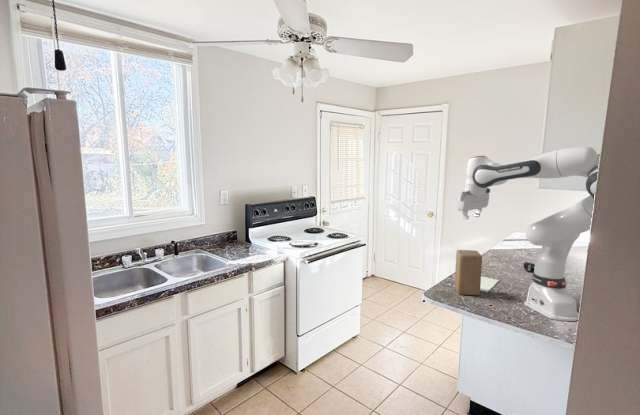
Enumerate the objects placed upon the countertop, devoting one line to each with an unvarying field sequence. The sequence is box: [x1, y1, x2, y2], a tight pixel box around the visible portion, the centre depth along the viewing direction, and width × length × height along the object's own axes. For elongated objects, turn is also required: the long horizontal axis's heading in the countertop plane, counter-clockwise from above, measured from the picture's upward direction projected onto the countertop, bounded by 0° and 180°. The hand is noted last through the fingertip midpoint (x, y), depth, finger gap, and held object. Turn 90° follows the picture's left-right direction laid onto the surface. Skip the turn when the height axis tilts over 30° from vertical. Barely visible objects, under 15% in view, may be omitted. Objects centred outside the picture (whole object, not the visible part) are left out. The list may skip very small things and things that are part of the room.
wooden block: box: [454, 249, 483, 296], centre depth 165 cm, size 10×10×20 cm
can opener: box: [522, 261, 535, 273], centre depth 195 cm, size 18×7×6 cm, turn 44°
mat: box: [480, 275, 500, 293], centre depth 179 cm, size 22×16×1 cm
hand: (471, 218), depth 164 cm, fingers open, 8 cm apart
